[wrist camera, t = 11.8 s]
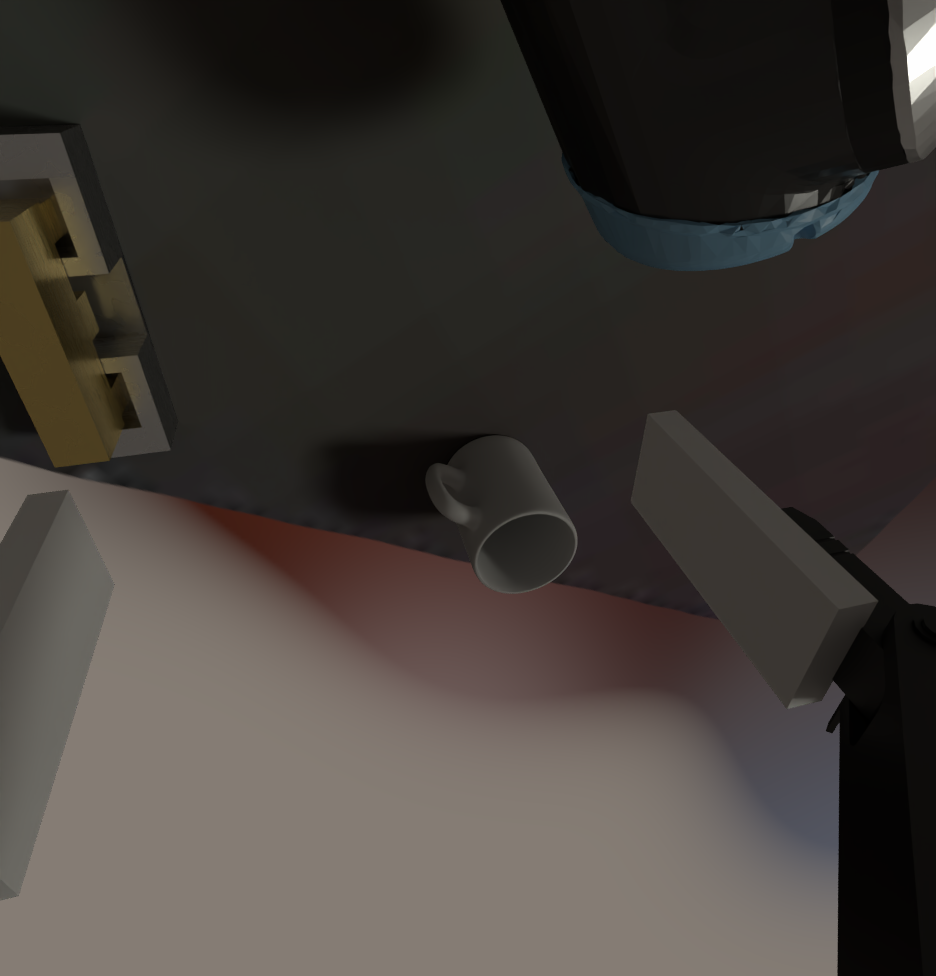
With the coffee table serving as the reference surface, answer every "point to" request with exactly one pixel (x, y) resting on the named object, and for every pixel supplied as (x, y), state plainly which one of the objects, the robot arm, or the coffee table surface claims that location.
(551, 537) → the mug
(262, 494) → the coffee table surface
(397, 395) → the coffee table surface
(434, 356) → the coffee table surface
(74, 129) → the bracket
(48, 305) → the yellow rectangular block
